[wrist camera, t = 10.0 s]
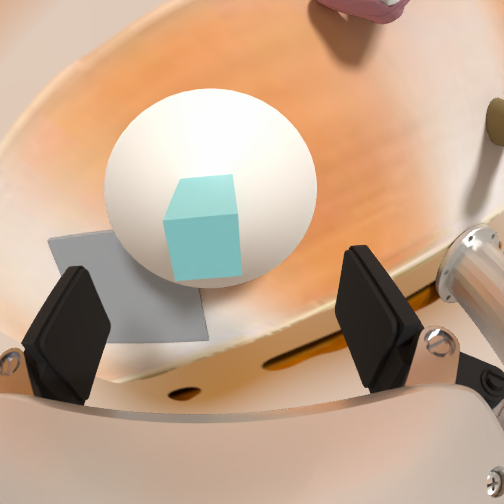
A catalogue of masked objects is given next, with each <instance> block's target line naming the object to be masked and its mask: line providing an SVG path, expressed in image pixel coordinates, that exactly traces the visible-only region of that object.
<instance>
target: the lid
mask: <svg viewBox="0 0 504 504" xmlns="http://www.w3.org/2000/svg"><path fill="white" fill-rule="evenodd" d="M316 197H317V180H316V173H315V167H314V164H313V160H312V157H311V154H310V152H309V150H308V148H307V146H306V144H305V142H304V140H303V138H302V137H301V135H300V134H299V132H298V131H297V130H296V128H295V127H294V126H293V125H292V124H291V123H290V122H289V121H288V120H287V118H285V117H284V116H283V115H282V114H281V113H279V112H278V111H277V110H276V109H274V108H273V107H271V106H269V105H268V104H266V103H264V102H263V101H261V100H259V99H256V98H254V97H252V96H249V95H247V94H243V93H239V92H235V91H231V90H223V89H198V90H192V91H186V92H182V93H179V94H176V95H173V96H170V97H167V98H165V99H163V100H161V101H159V102H157V103H155V104H154V105H152V106H151V107H149V108H148V109H146V110H145V111H143V112H142V113H141V114H140V115H139V116H138V117H136V118H135V119H134V120H133V121H132V122H131V123H130V124H129V126H128V127H127V128H126V129H125V131H124V132H123V133H122V134H121V136H120V138H119V139H118V141H117V143H116V144H115V146H114V148H113V151H112V153H111V155H110V158H109V161H108V165H107V169H106V173H105V182H104V199H105V205H106V211H107V214H108V218H109V221H110V224H111V226H112V228H113V230H114V232H115V234H116V236H117V238H118V239H119V241H120V242H121V244H122V246H123V247H124V248H125V249H126V250H127V252H128V253H129V254H130V255H131V256H132V257H133V258H134V259H135V260H136V261H137V262H138V263H139V264H141V265H142V266H143V267H145V268H146V269H148V270H149V271H151V272H152V273H154V274H156V275H158V276H159V277H162V278H164V279H166V280H169V281H171V282H174V283H177V284H181V285H185V286H190V287H196V288H223V287H230V286H235V285H239V284H243V283H245V282H248V281H251V280H254V279H256V278H258V277H260V276H262V275H264V274H266V273H267V272H269V271H271V270H272V269H274V268H275V267H277V266H278V265H279V264H280V263H281V262H283V261H284V260H285V259H286V258H287V257H288V256H289V255H290V254H291V253H292V252H293V251H294V249H295V248H296V247H297V246H298V244H299V243H300V242H301V240H302V238H303V237H304V235H305V233H306V231H307V229H308V227H309V225H310V222H311V220H312V217H313V213H314V209H315V204H316Z"/></svg>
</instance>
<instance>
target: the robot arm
mask: <svg viewBox="0 0 504 504" xmlns="http://www.w3.org/2000/svg"><path fill="white" fill-rule="evenodd" d="M436 291H437V293H438V295H439V296H440V298H441V299H442V300H443V301H445V302H448V303H455V302H458V303H459V304H460V305H461V306H462V308H463V309H464V310H465V312H466V313H467V314H468V315H469V317H470V318H471V319H472V321H473V322H474V323H475V325H476V326H477V327H478V329H479V330H480V331H481V333H482V334H483V335H484V337H485V338H486V340H487V341H488V342H489V344H490V345H491V347H492V348H493V350H494V351H495V353H496V354H497V355H498V357H499V359H500V360H501V362H502V363H503V365H504V252H503V251H502V250H501V249H500V248H499V241H498V236H497V233H496V232H495V231H494V229H493V228H491V227H490V226H489V225H486V224H478V225H475V226H473V227H471V228H469V229H467V230H466V231H465V232H464V233H462V234H461V235H460V236H459V237H458V238H457V239H456V240H455V242H454V243H453V244H452V245H451V247H450V248H449V250H448V251H447V253H446V254H445V256H444V258H443V260H442V262H441V264H440V267H439V269H438V272H437V277H436ZM335 315H336V318H337V320H338V323H339V325H340V328H341V330H342V332H343V335H344V337H345V340H346V342H347V345H348V347H349V350H350V352H351V355H352V358H353V360H354V363H355V365H356V368H357V370H358V373H359V376H360V379H361V381H362V384H363V386H364V387H365V388H369V391H370V394H368V395H364V396H359V397H354V398H349V399H344V400H339V401H333V402H328V403H322V404H316V405H310V406H303V407H296V408H288V409H280V410H271V411H260V412H246V413H230V414H161V413H160V414H159V413H143V412H130V411H120V410H111V409H103V408H95V407H89V406H84V403H85V400H87V399H88V398H89V395H90V392H91V388H92V385H93V382H94V378H95V375H96V372H97V369H98V366H99V362H100V359H101V356H102V353H103V350H104V347H105V345H106V342H107V339H108V336H109V333H110V330H111V323H110V320H109V318H108V316H107V314H106V311H105V309H104V307H103V305H102V302H101V300H100V298H99V295H98V293H97V291H96V288H95V286H94V283H93V281H92V278H91V276H90V273H89V271H88V270H87V269H85V268H84V267H83V266H82V265H81V266H69V267H68V268H67V269H66V271H65V272H64V274H63V275H62V277H61V278H60V280H59V281H58V282H57V284H56V285H55V287H54V289H53V290H52V292H51V293H50V295H49V296H48V298H47V299H46V301H45V303H44V304H43V306H42V308H41V309H40V311H39V312H38V314H37V316H36V318H35V319H34V321H33V323H32V324H31V326H30V328H29V330H28V331H27V333H26V335H25V337H24V339H23V341H22V342H21V344H22V345H23V346H24V348H25V351H24V353H23V351H21V350H20V349H18V348H11V349H9V350H7V351H5V352H4V353H3V354H2V355H1V356H0V504H504V372H503V371H502V370H501V369H499V368H498V367H496V366H493V365H491V364H489V363H486V362H484V361H481V360H479V359H477V358H474V357H472V356H469V355H467V354H464V353H462V352H460V344H459V342H458V339H457V338H456V336H455V335H454V334H453V333H452V332H450V331H449V330H448V329H446V328H444V327H440V326H430V327H427V328H424V327H423V325H422V324H421V321H420V320H419V318H418V317H417V315H416V314H415V312H414V311H413V309H412V308H411V306H410V305H409V303H408V302H407V300H406V299H405V297H404V296H403V294H402V293H401V291H400V290H399V289H398V287H397V286H396V284H395V283H394V281H393V280H392V279H391V277H390V276H389V275H388V273H387V272H386V270H385V269H384V268H383V266H382V265H381V264H380V262H379V261H378V260H377V258H376V257H375V256H374V254H373V253H372V252H371V250H370V249H369V248H368V246H366V245H356V246H350V248H349V250H346V251H345V253H344V259H343V265H342V271H341V277H340V283H339V289H338V294H337V300H336V305H335Z"/></svg>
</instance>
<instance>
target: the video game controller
mask: <svg viewBox="0 0 504 504" xmlns="http://www.w3.org/2000/svg"><path fill="white" fill-rule="evenodd" d="M316 1H317V2H319V3H320V4H322V5H324V6H326V7H328V8H331V9H333V10H336V11H339V12H342V13H345V14H349V15H353V16H358V17H362V18H367V19H370V20H371V21H373V22H375V23H378V24H387V23H390V22H393V21H394V20H396V19H397V18H399V17H400V16H401V15H402V13H403V10H404V6H405V5H406V4H407V3H408V2H409V1H410V0H316Z"/></svg>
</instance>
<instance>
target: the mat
mask: <svg viewBox="0 0 504 504" xmlns="http://www.w3.org/2000/svg"><path fill="white" fill-rule="evenodd" d="M48 244H49V247H50V249H51V252H52V254H53V257H54V259H55V262H56V264H57V267H58V269H59V271H60V274H61V276H62V275H63V274H64V272H65V271H66V269H67V268H68V267H69V266H81V265H82V266H83V267H84V268H85V269H87V270H88V271H89V273H90V276H91V278H92V281H93V283H94V286H95V288H96V291H97V293H98V295H99V298H100V300H101V302H102V305H103V307H104V309H105V311H106V314H107V316H108V318H109V320H110V323H111V330H110V333H109V336H108V339H107V342H106V343H169V342H192V341H209V336H208V331H207V327H206V322H205V317H204V312H203V307H202V302H201V297H200V292H199V288H196V287H190V286H185V285H181V284H177V283H174V282H171V281H169V280H166V279H164V278H162V277H159V276H158V275H156V274H154V273H152V272H151V271H149V270H148V269H146V268H145V267H143V266H142V265H141V264H139V263H138V262H137V261H136V260H135V259H134V258H133V257H132V256H131V255H130V254H129V253H128V252H127V250H126V249H125V248H124V247H123V246H122V244H121V242H120V241H119V239H118V238H117V236H116V234H115V232H114V230H107V231H99V232H91V233H84V234H76V235H69V236H62V237H55V238H49V240H48Z"/></svg>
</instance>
